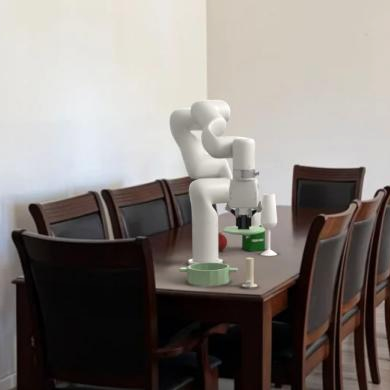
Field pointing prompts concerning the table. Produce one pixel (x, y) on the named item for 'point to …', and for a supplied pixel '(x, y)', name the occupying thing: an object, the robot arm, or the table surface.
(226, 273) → the pot
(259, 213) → the milk carton
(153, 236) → the table surface
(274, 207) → the champagne flute
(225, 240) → the onion
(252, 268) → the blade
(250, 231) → the lid
